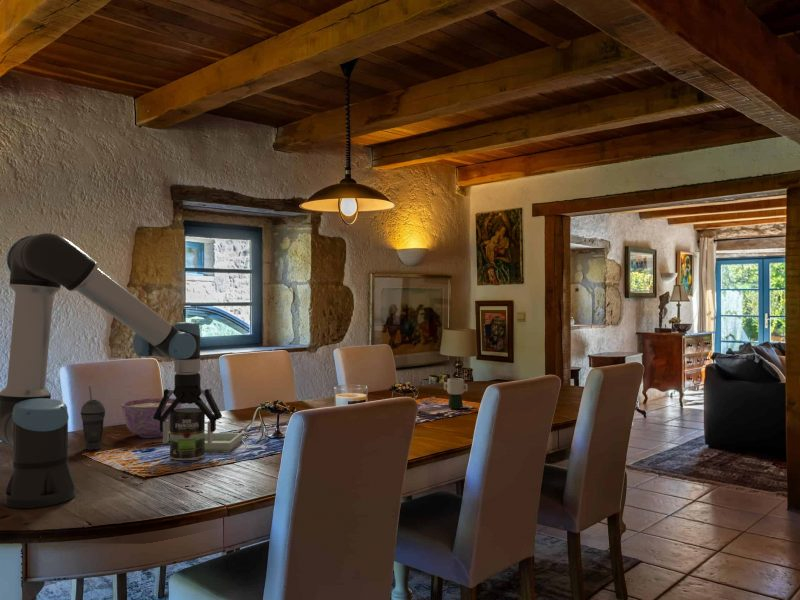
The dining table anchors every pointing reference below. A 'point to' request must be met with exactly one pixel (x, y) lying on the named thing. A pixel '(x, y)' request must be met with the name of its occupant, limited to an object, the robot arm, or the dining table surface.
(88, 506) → the dining table surface
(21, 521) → the dining table surface
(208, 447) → the tray
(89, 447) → the beverage cup
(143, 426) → the bowl of food
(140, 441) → the dining table surface
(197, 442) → the coffee can
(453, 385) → the character mug
